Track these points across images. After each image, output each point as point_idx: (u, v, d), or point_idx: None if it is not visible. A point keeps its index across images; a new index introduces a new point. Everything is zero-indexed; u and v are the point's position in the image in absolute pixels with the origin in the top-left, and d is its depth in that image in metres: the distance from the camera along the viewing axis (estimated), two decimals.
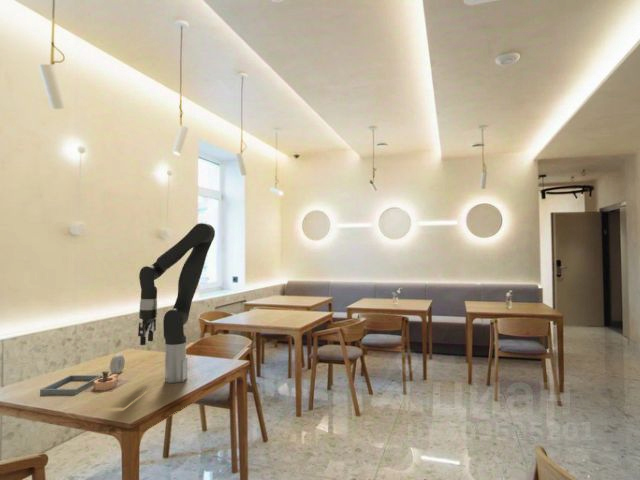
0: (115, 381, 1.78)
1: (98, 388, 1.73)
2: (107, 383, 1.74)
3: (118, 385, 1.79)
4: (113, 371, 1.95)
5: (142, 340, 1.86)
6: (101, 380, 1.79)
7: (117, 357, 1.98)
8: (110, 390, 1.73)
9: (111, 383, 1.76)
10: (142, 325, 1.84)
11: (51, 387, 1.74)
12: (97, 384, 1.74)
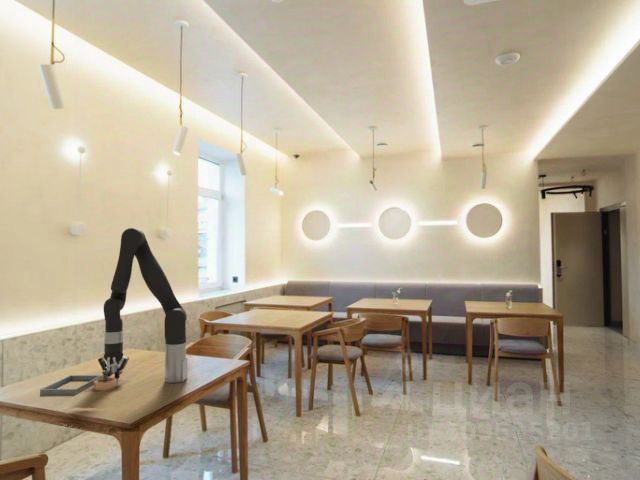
0: (115, 381, 1.78)
1: (98, 388, 1.73)
2: (107, 383, 1.74)
3: (118, 385, 1.79)
4: (113, 371, 1.95)
5: (119, 374, 1.85)
6: (101, 380, 1.79)
7: None
8: (110, 390, 1.73)
9: (111, 383, 1.76)
10: (127, 360, 1.85)
11: (51, 387, 1.74)
12: (97, 384, 1.74)
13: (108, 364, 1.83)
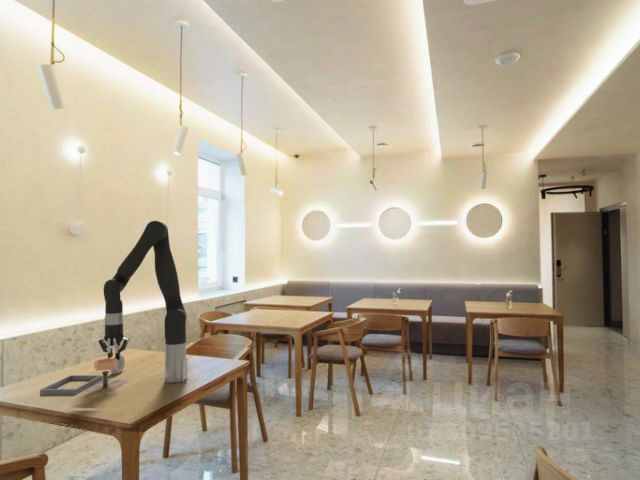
0: (116, 362, 1.79)
1: (99, 368, 1.74)
2: (108, 363, 1.75)
3: (118, 385, 1.79)
4: (113, 371, 1.95)
5: (119, 355, 1.85)
6: (102, 361, 1.80)
7: None
8: (110, 390, 1.73)
9: (112, 363, 1.76)
10: (128, 341, 1.85)
11: (51, 387, 1.74)
12: (98, 364, 1.74)
13: (108, 345, 1.83)
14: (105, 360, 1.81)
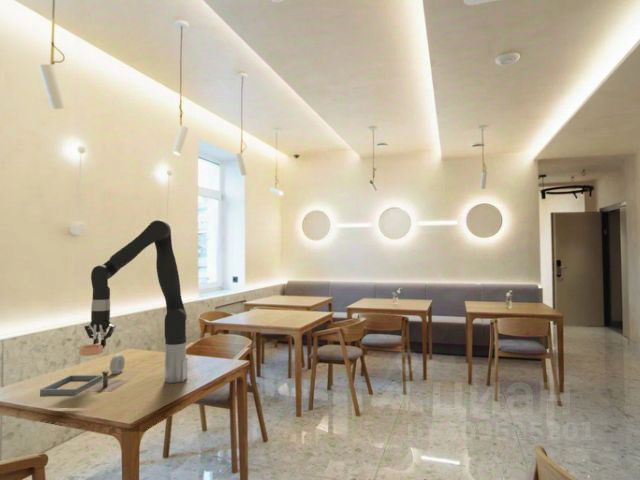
0: (101, 348, 1.78)
1: (84, 353, 1.73)
2: (93, 349, 1.74)
3: (118, 385, 1.79)
4: (113, 371, 1.95)
5: (105, 342, 1.85)
6: (87, 347, 1.79)
7: (117, 357, 1.98)
8: (110, 390, 1.73)
9: (97, 349, 1.75)
10: (114, 328, 1.85)
11: (51, 387, 1.74)
12: (83, 350, 1.73)
13: (94, 332, 1.83)
14: (90, 346, 1.80)
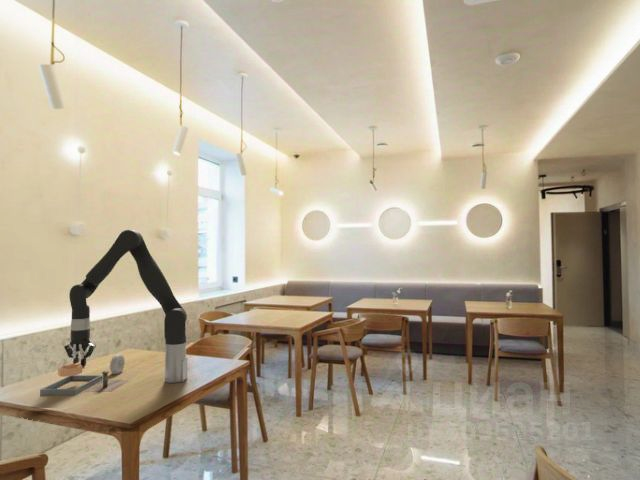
0: (80, 368, 1.77)
1: (62, 374, 1.72)
2: (71, 369, 1.73)
3: (118, 385, 1.79)
4: (113, 371, 1.95)
5: (85, 361, 1.84)
6: (66, 367, 1.78)
7: (117, 357, 1.98)
8: (110, 390, 1.73)
9: (76, 370, 1.74)
10: (94, 347, 1.84)
11: (51, 387, 1.74)
12: (61, 370, 1.72)
13: (74, 351, 1.82)
14: (70, 366, 1.79)
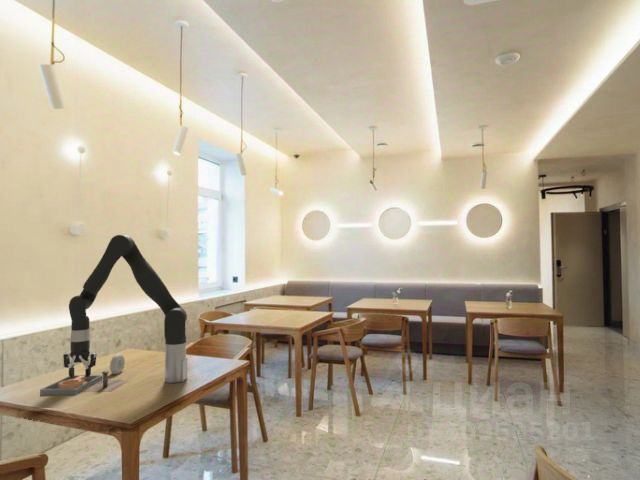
0: (80, 383, 1.77)
1: None
2: (72, 385, 1.73)
3: (118, 385, 1.79)
4: (113, 371, 1.95)
5: (90, 371, 1.83)
6: (67, 382, 1.78)
7: (117, 357, 1.98)
8: (110, 390, 1.73)
9: (76, 385, 1.74)
10: (95, 355, 1.84)
11: (51, 387, 1.74)
12: (61, 386, 1.72)
13: (72, 362, 1.82)
14: (70, 381, 1.79)
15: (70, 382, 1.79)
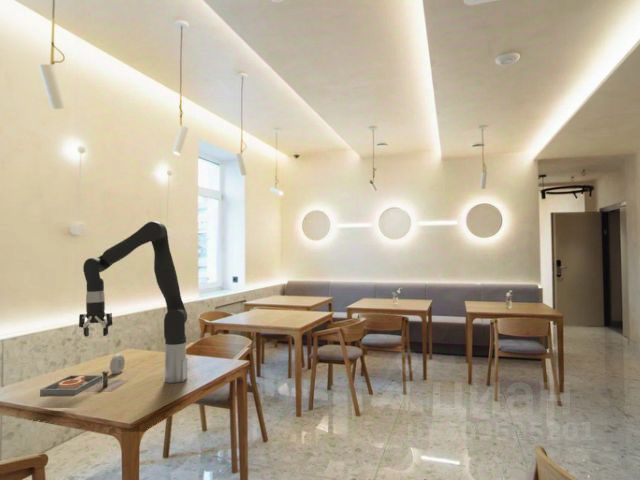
0: (80, 383, 1.77)
1: None
2: (72, 385, 1.73)
3: (118, 385, 1.79)
4: (113, 371, 1.95)
5: (107, 330, 1.89)
6: (67, 382, 1.78)
7: (117, 357, 1.98)
8: (110, 390, 1.73)
9: (76, 385, 1.74)
10: (111, 315, 1.89)
11: (51, 387, 1.74)
12: (61, 386, 1.72)
13: (87, 322, 1.87)
14: (70, 381, 1.79)
15: (70, 382, 1.79)
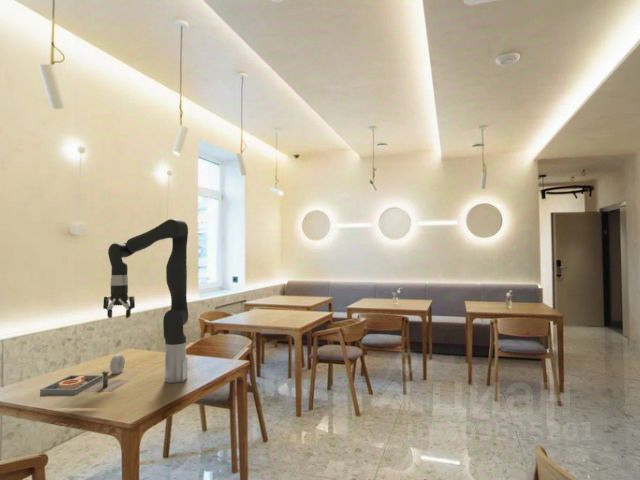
0: (80, 383, 1.77)
1: None
2: (72, 385, 1.73)
3: (118, 385, 1.79)
4: (113, 371, 1.95)
5: (130, 312, 1.98)
6: (67, 382, 1.78)
7: (117, 357, 1.98)
8: (110, 390, 1.73)
9: (76, 385, 1.74)
10: (133, 298, 1.98)
11: (51, 387, 1.74)
12: (61, 386, 1.72)
13: (111, 304, 1.96)
14: (70, 381, 1.79)
15: (70, 382, 1.79)
